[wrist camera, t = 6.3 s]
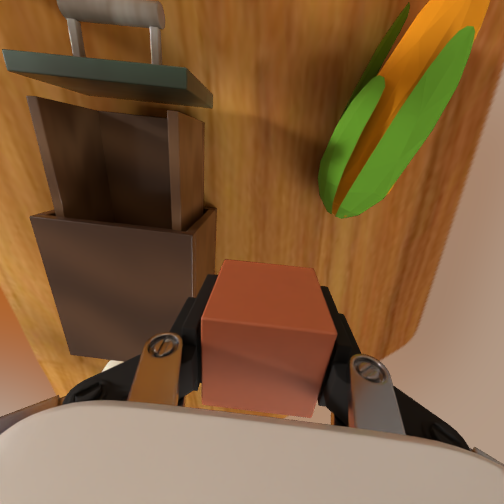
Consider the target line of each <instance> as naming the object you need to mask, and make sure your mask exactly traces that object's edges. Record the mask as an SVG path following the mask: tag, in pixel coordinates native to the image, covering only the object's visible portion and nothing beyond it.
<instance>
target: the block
mask: <svg viewBox="0 0 504 504" xmlns="http://www.w3.org/2000/svg"><path fill="white" fill-rule="evenodd" d="M336 337H337V331H336V328H335V325H334V323H333V320H332V317H331V315H330V312H329V309H328V306H327V304H326V301H325V298H324V296H323V293H322V290H321V287H320V285H319V282H318V279H317V276H316V274H315V271H314V269H313V268H304V267H295V266H285V265H276V264H266V263H257V262H247V261H237V260H228V259H225V260H224V262H223V265H222V267H221V270H220V272H219V275H218V277H217V280H216V282H215V285H214V287H213V290H212V292H211V295H210V297H209V300H208V302H207V305H206V307H205V310H204V312H203V315H202V317H201V371H202V404H203V405H209V406H217V407H225V408H234V409H242V410H250V411H258V412H266V413H274V414H283V415H291V416H299V417H307V418H311V417H312V415H313V411H314V408H315V405H316V402H317V399H318V395H319V392H320V389H321V386H322V383H323V379H324V376H325V373H326V370H327V366H328V363H329V360H330V357H331V353H332V350H333V347H334V344H335V340H336Z"/></svg>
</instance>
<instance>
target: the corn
mask: <svg viewBox="0 0 504 504" xmlns="http://www.w3.org/2000/svg"><path fill="white" fill-rule="evenodd" d="M489 3H490V0H429V2H428V3H427V4H426V5H425V6H424V8H423V9H422V10H421V11H420V12H419V14H418V15H417V17H416V18H415V20H414V21H413V23H412V24H411V26H410V27H409V29H408V30H407V32H406V33H405V35H404V36H403V38H402V39H401V41H400V42H399V44H398V45H397V47H396V48H395V50H394V51H393V53H392V54H391V56H390V57H389V59H388V60H387V62H386V63H385V65H384V66H383V68H382V69H381V71H380V72H379V70H380V68H381V66H382V64H383V62H384V60H385V58H386V56H387V54H388V53H389V51H390V49H391V47H392V45H393V44H394V42H395V40H396V38H397V36H398V34H399V33H400V31H401V29H402V27H403V25H404V23H405V21H406V19H407V16H408V13H409V9H410V4H409V3H408V4H407V5H406V7H405V8H404V9H403V11H402V12H401V13H400V15H399V16H398V17H397V19H396V20H395V22H394V23H393V25H392V26H391V28H390V29H389V30H388V32H387V33H386V35H385V36H384V38H383V39H382V41H381V42H380V44H379V45H378V47H377V49H376V51H375V53H374V55H373V56H372V58H371V60H370V62H369V64H368V66H367V67H366V69H365V71H364V73H363V75H362V77H361V78H360V80H359V82H358V84H357V86H356V88H355V89H354V91H353V93H352V96H351V98H350V100H349V102H348V104H347V106H346V108H345V110H344V112H343V114H342V116H341V118H340V120H339V122H338V124H337V126H336V128H335V130H334V132H333V134H332V137H331V139H330V141H329V143H328V145H327V148H326V150H325V152H324V154H323V157H322V159H321V161H320V168H319V174H318V184H319V195H320V197H321V199H322V201H323V204H324V206H325V208H326V210H327V211H328V212H329V213H330V214H334V215H335V216H336V217H339V218H341V219H342V218H347V217H352V216H357V215H360V214H361V213H363V212H364V211H366V210H367V209H369V208H370V207H372V206H373V205H375V204H376V203H378V202H379V201H381V200H382V199H384V197H385V196H386V195H387V194H388V193H390V191H391V189H392V188H393V186H394V184H395V182H396V181H397V179H398V178H399V176H400V175H401V174H402V172H403V171H404V169H405V168H406V167H407V165H408V164H409V162H410V161H411V160H412V158H413V157H414V155H415V154H416V153H417V151H418V150H419V148H420V147H421V146H422V144H423V143H424V141H425V140H426V139H427V137H428V136H429V134H430V133H431V132H432V130H433V128H434V126H435V125H436V123H437V121H438V119H439V118H440V116H441V114H442V112H443V111H444V109H445V107H446V105H447V103H448V102H449V100H450V98H451V96H452V95H453V93H454V91H455V89H456V87H457V86H458V83H459V80H460V78H461V75H462V73H463V70H464V68H465V65H466V63H467V60H468V58H469V55H470V52H471V48H472V44H473V42H474V40H475V38H476V36H477V34H478V31H479V29H480V27H481V25H482V22H483V20H484V17H485V14H486V11H487V8H488V5H489ZM378 72H379V74H378ZM377 74H378V75H377Z"/></svg>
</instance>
